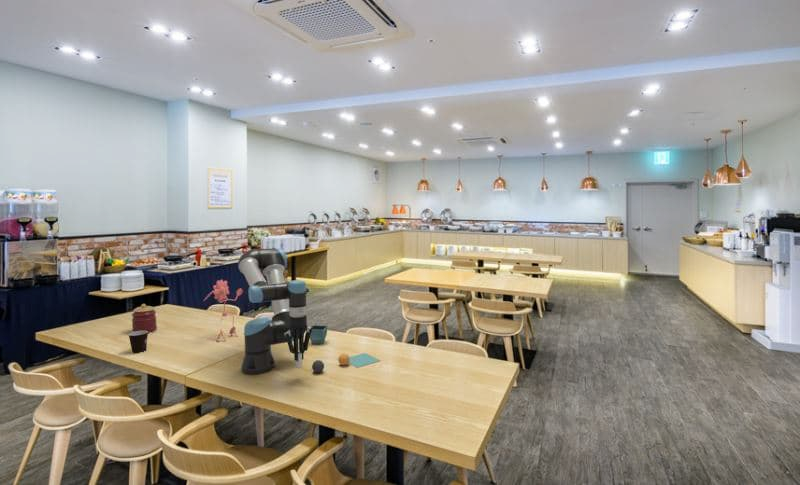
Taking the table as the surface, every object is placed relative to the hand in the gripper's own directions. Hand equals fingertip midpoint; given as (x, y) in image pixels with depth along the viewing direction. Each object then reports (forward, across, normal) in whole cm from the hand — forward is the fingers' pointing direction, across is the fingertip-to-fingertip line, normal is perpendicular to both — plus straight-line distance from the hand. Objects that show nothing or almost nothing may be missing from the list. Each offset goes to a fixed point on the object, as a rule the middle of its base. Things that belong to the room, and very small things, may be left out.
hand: (299, 367), depth 180 cm
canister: (+3, -44, +126) cm, 134 cm away
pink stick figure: (+4, -10, +82) cm, 83 cm away
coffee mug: (+4, -50, +88) cm, 101 cm away
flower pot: (+5, +30, +38) cm, 49 cm away
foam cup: (+4, +10, +62) cm, 63 cm away
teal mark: (+5, +34, 0) cm, 34 cm away
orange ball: (+2, +24, 0) cm, 24 cm away
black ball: (+2, +10, 0) cm, 10 cm away
